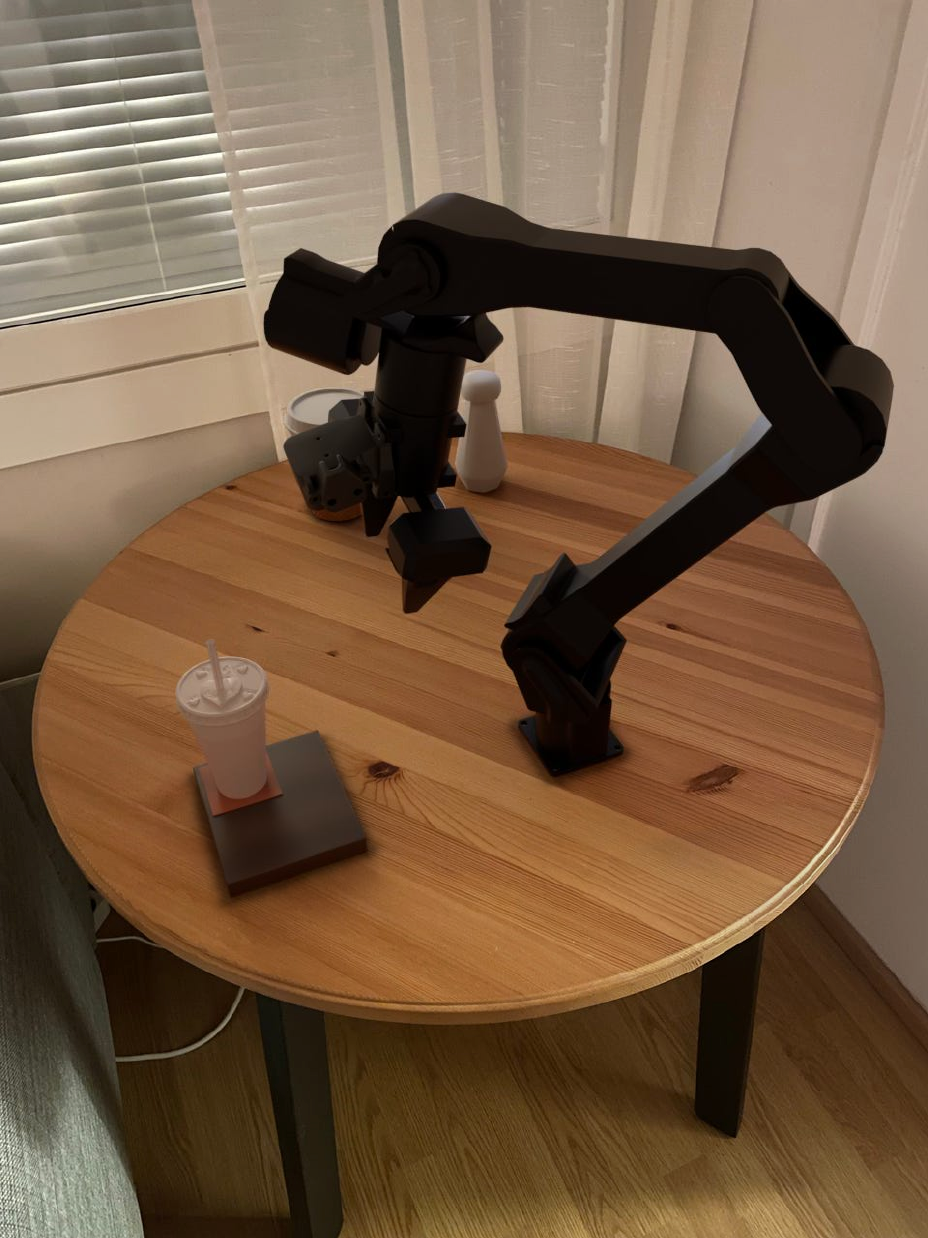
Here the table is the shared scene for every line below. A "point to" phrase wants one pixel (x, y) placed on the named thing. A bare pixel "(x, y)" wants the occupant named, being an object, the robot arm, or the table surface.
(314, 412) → the disposable coffee cup
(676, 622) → the table surface
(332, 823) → the board
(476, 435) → the salt shaker
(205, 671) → the smoothie
